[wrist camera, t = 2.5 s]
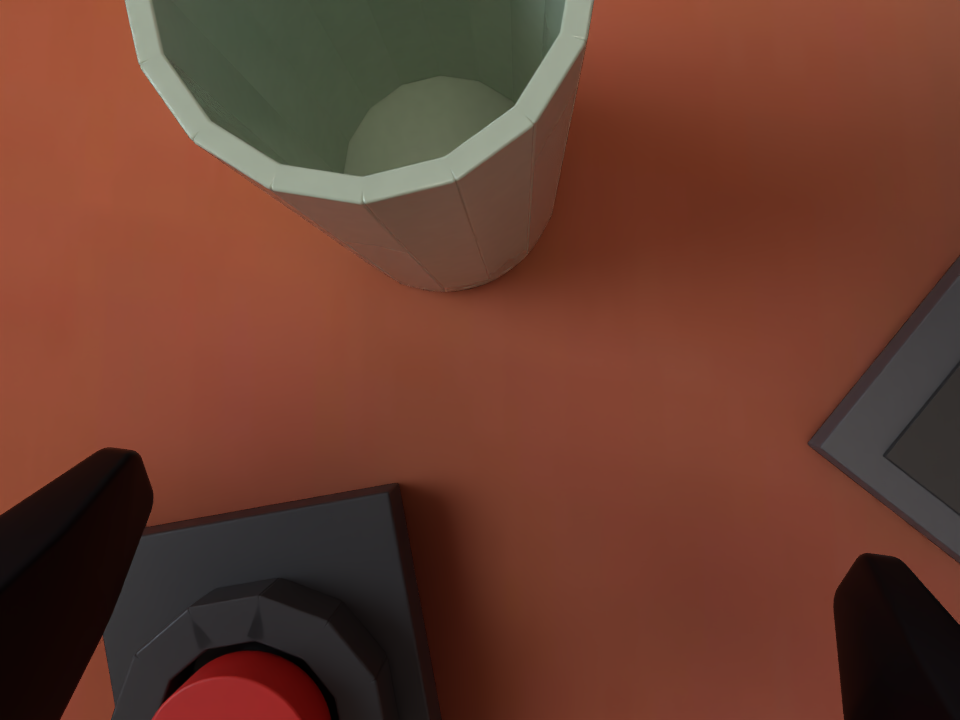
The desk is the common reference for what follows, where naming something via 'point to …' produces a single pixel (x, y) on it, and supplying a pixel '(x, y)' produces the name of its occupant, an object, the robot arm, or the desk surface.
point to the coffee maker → (909, 420)
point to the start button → (246, 691)
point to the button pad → (279, 605)
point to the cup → (382, 117)
